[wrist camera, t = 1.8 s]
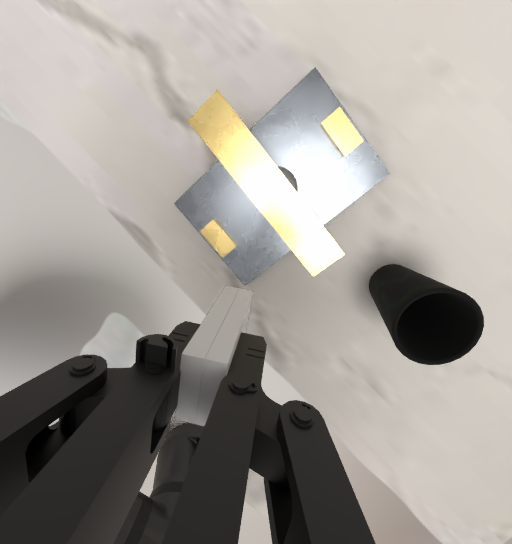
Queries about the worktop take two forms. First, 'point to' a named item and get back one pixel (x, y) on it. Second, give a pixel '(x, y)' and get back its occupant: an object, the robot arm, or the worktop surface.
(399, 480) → the worktop surface
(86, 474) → the robot arm
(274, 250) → the plate
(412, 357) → the cup
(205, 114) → the flat gold bar
